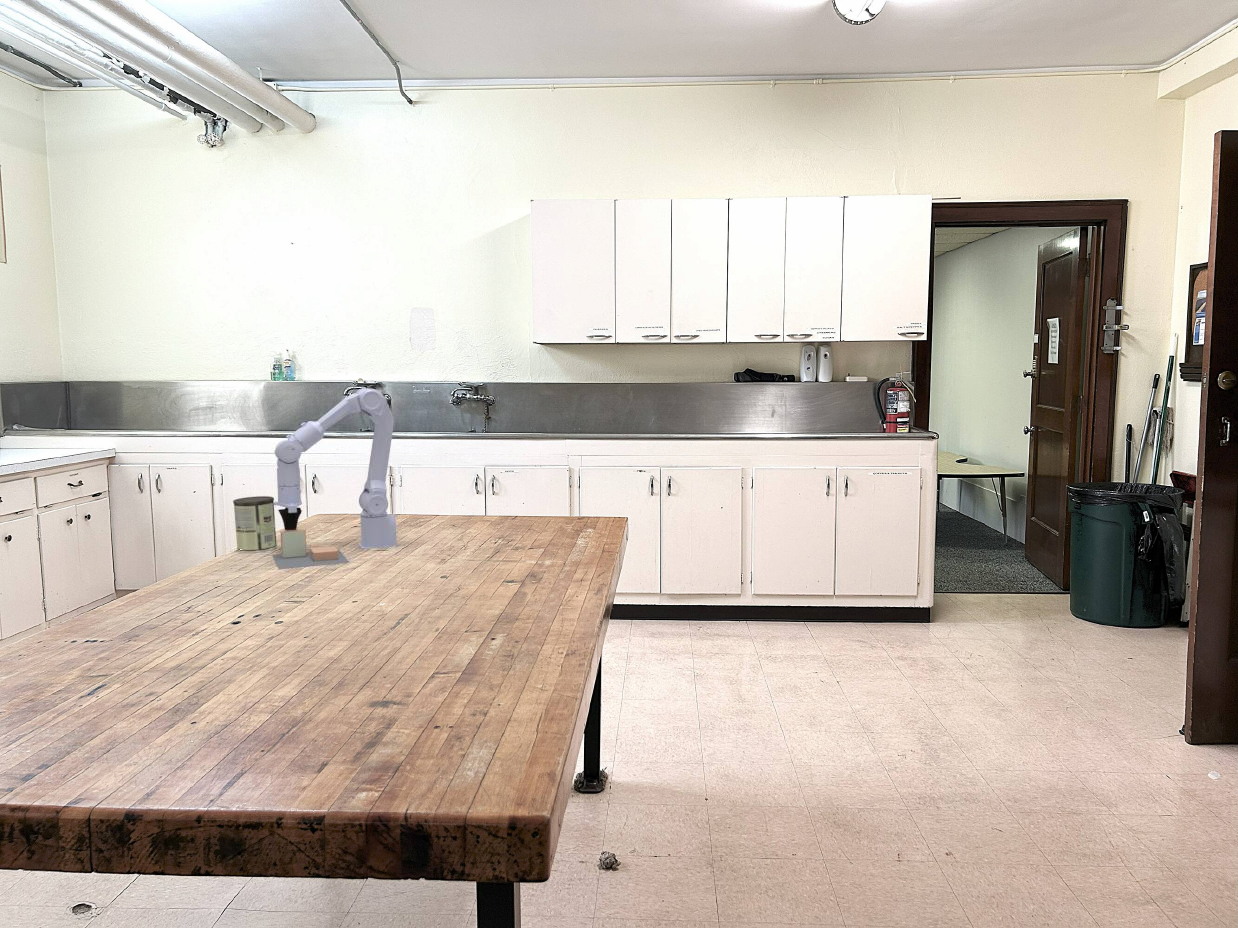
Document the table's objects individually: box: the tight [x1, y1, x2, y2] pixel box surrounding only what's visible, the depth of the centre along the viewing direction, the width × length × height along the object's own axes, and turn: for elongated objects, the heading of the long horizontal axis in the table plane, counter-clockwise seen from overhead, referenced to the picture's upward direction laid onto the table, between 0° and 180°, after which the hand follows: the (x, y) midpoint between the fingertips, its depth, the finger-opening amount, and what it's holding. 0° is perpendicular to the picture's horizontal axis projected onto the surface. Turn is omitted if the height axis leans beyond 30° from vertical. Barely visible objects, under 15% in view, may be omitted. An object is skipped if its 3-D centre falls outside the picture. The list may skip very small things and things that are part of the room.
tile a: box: [309, 545, 339, 561], centre depth 231 cm, size 2×6×7 cm
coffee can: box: [232, 495, 278, 554], centre depth 241 cm, size 10×10×14 cm
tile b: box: [280, 528, 307, 559], centre depth 231 cm, size 2×6×7 cm, turn 116°
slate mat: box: [271, 549, 351, 570], centre depth 229 cm, size 17×18×1 cm
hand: (290, 535), depth 237 cm, fingers closed
